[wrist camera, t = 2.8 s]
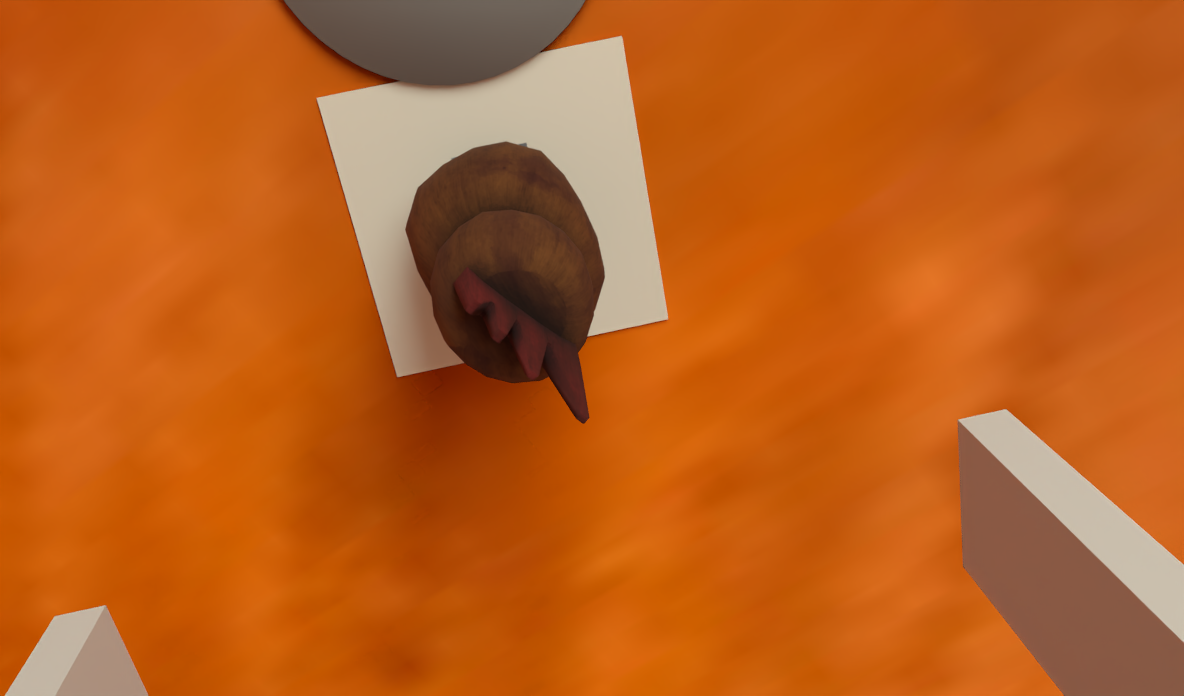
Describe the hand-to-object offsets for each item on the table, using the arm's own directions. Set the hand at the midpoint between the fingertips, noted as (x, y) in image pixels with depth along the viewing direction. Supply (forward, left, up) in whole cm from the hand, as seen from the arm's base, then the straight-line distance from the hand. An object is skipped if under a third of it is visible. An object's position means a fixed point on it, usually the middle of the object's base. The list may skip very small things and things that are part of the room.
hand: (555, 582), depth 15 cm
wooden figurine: (0, 0, -24) cm, 24 cm away
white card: (0, 0, -24) cm, 24 cm away
